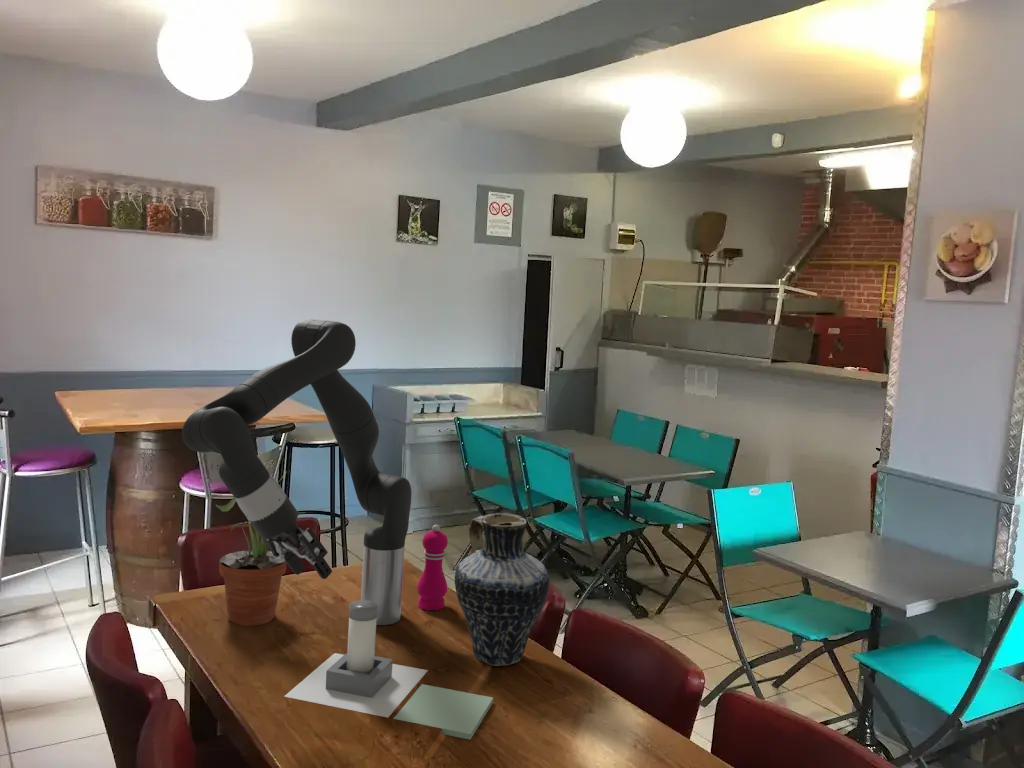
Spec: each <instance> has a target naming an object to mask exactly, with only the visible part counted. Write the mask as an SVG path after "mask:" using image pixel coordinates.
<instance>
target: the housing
mask: <svg viewBox="0 0 1024 768" xmlns="http://www.w3.org/2000/svg"><path fill="white" fill-rule="evenodd" d="M393 660H394V659H393V658H388V657H383V656H377V655H374V670H373V671H372V672H371V673H370V674H369V675H368V674H363V673H358V672H353V671H347V670H346V669H347V652H346V653H345V654H343V653H336V652H334V653H333V654H332V655H331V656H330V657H328V658H327V659H326V660H324V662H323V663H321V664H320V665H318V667H317V668H315V669H314V670H313V671H312V672H311V673H310V674H309V675H307V676H306V677H305V678H304V679H302V681H300V682H299V683H298V684H297V685H295V686H294V687H293V688H292V689H290V691H289V692H287V694H285V695H284V696H283V697H284V698H287V699H288V698H289V699H292V700H293V699H294V700H299V701H303V702H304V701H305V702H308V703H314V704H319V705H323V706H328V707H333V708H337V709H342V710H343V709H344V710H348V711H353V712H359V713H362V714H369V715H372V716H379V717H385V718H390V716H391V715H392V713H394V712H395V710H396V709H398V707H399V706H400V704H401V703H402V702H403V701H404V699H405V698H406V697H407V696H408V695H409V694H410V692H411V691H412V690H413V689H414V688H415V687H416V685H418V683H419V682H420V681H421V679H422V678H423V677H424V676H425V675H426V673H428V671H429V670H428V669H423V668H417V667H413V666H409V665H408V666H407V665H401V664H397V663H393Z"/></svg>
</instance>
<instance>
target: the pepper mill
mask: <svg viewBox="0 0 1024 768" xmlns="http://www.w3.org/2000/svg"><path fill="white" fill-rule="evenodd" d="M431 528H432V529H431V530H429V531H428V532H426V533H425V534H424V535H423V537H422V546H423V548H424V551H423V553H424V554H423V558H424V559H425V562H424V563H425V564H424V570H423V571H422V574H421V576H420V577H419V579H418V582H417V587H416V592H417V593H418V595H419V597H418V600H417V601H418V602H417V603H418V604H417V605H418V608H419V607H420V608H419V609H421V608H422V609H421V610H423V609H425V610H424V611H429V610H436V611H439V610H438V609H440V610H442V609H444V608H445V598H444V596H445V595H446V594H447V593H448V583H447V579H446V576H445V575H444V570H443V561H444V558H445V557H446V556H445V554H446V552H445V550H446V548H447V546H448V545H449V544H448V543H449V542H448V537H447V535H446V533H444V532H443V531H441V530H440V528H441V527H440V526H439V525H438V524H434V525H433V526H432V527H431ZM441 608H442V609H441Z"/></svg>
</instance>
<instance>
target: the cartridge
mask: <svg viewBox="0 0 1024 768" xmlns="http://www.w3.org/2000/svg"><path fill="white" fill-rule="evenodd" d="M348 607H349V608H348V632H347V633H348V634H347V650H346V651H347V652H346V653H347V669H346V670H347V671H353V672H358V673H363V674H368V675H369V674H370V673H371V672H372V671H373V670H374V656H375V651H376V649H375V648H376V632H377V625H376V617H377V609H378V605H377V603H375V602H372V601H367V600H361V599H360V600H355V601H352V602H350V603H349V605H348Z"/></svg>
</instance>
